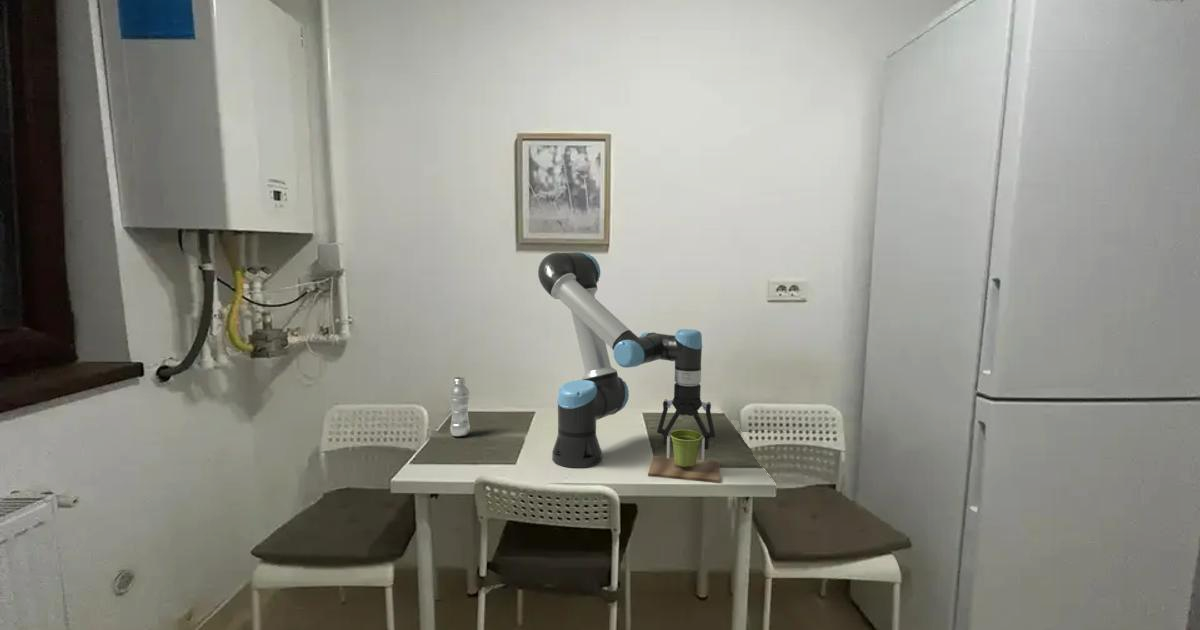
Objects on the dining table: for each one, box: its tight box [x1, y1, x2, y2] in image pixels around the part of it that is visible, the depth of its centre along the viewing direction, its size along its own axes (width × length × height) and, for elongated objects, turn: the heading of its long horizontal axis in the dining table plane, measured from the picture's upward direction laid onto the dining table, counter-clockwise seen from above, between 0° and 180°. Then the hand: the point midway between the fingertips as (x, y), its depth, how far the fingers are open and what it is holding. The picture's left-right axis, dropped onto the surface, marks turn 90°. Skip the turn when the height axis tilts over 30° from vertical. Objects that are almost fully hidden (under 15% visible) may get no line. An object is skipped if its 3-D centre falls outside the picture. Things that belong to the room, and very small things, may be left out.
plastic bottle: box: [449, 376, 471, 437], centre depth 194 cm, size 6×7×20 cm
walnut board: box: [647, 455, 721, 484], centre depth 167 cm, size 20×14×1 cm
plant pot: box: [669, 429, 703, 467], centre depth 166 cm, size 9×9×9 cm
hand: (685, 458), depth 167 cm, fingers closed on plant pot, 9 cm apart
